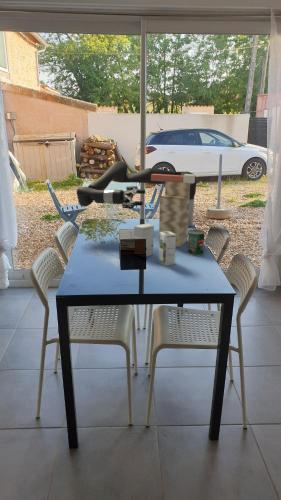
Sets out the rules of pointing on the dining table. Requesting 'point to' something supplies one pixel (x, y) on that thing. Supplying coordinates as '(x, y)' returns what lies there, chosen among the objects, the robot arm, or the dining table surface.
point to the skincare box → (145, 236)
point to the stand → (175, 211)
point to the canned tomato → (196, 242)
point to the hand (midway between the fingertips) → (143, 197)
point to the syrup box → (167, 248)
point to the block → (173, 178)
